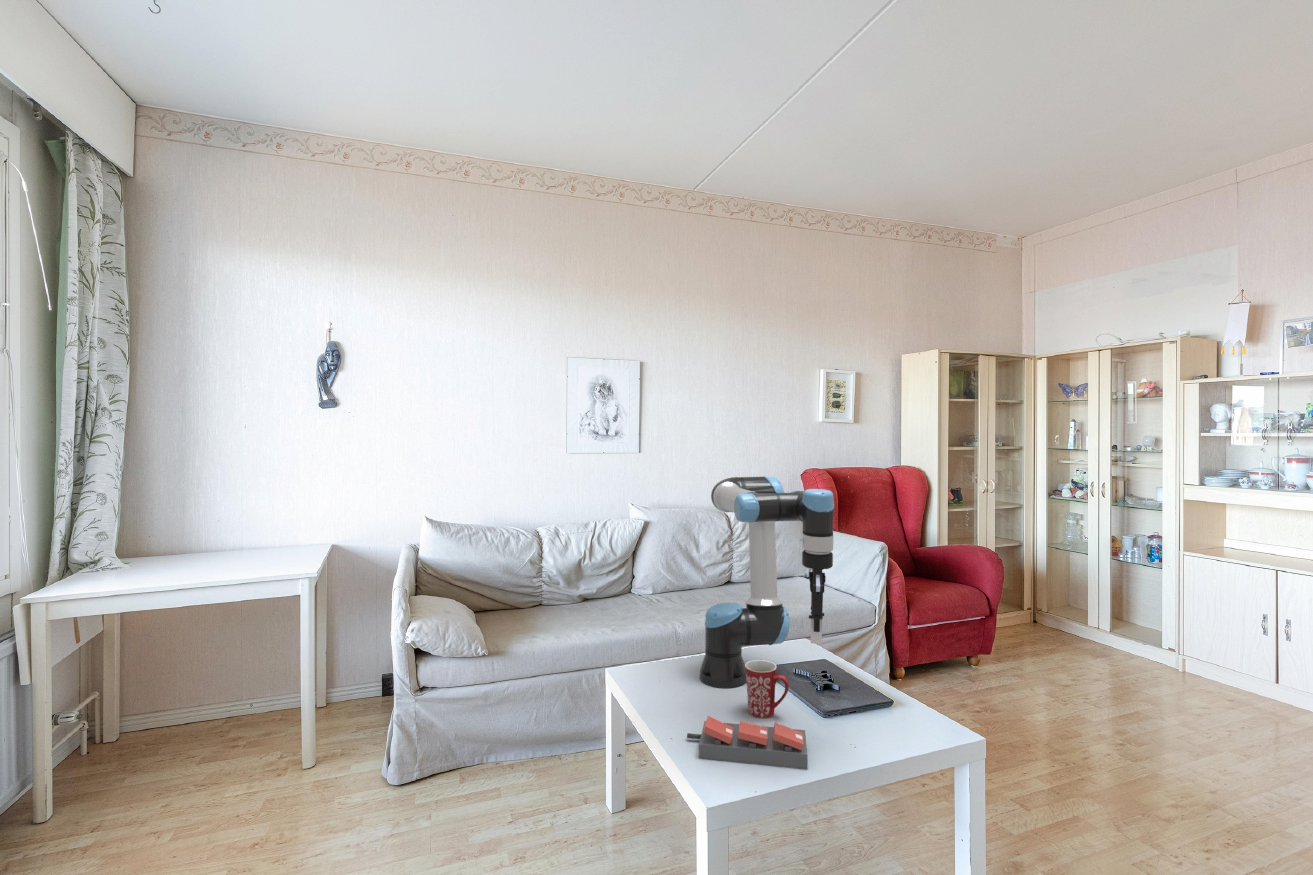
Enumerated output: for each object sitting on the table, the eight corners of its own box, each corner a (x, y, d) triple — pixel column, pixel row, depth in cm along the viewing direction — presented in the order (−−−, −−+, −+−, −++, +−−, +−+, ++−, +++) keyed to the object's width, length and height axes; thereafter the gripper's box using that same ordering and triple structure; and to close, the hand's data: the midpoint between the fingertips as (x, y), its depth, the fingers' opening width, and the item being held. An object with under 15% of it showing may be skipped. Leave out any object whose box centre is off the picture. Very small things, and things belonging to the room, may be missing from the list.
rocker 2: (773, 728, 156) (775, 722, 156) (800, 738, 155) (802, 732, 155) (773, 739, 151) (775, 733, 150) (801, 750, 149) (803, 743, 149)
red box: (739, 726, 158) (740, 720, 158) (766, 733, 156) (767, 727, 156) (737, 737, 152) (738, 731, 152) (766, 745, 151) (767, 738, 151)
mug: (739, 714, 176) (739, 667, 176) (753, 702, 184) (753, 656, 183) (780, 726, 169) (781, 677, 169) (793, 713, 177) (794, 666, 176)
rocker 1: (705, 721, 159) (707, 715, 159) (731, 732, 158) (733, 726, 158) (703, 731, 154) (705, 725, 154) (729, 744, 153) (732, 738, 152)
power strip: (689, 732, 166) (689, 715, 166) (805, 743, 160) (805, 725, 160) (682, 756, 154) (682, 738, 154) (807, 769, 148) (807, 750, 148)
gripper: (801, 544, 164) (800, 632, 166) (802, 556, 152) (801, 651, 153) (831, 545, 163) (829, 634, 164) (834, 557, 150) (833, 653, 151)
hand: (816, 642), depth 159 cm, fingers closed
